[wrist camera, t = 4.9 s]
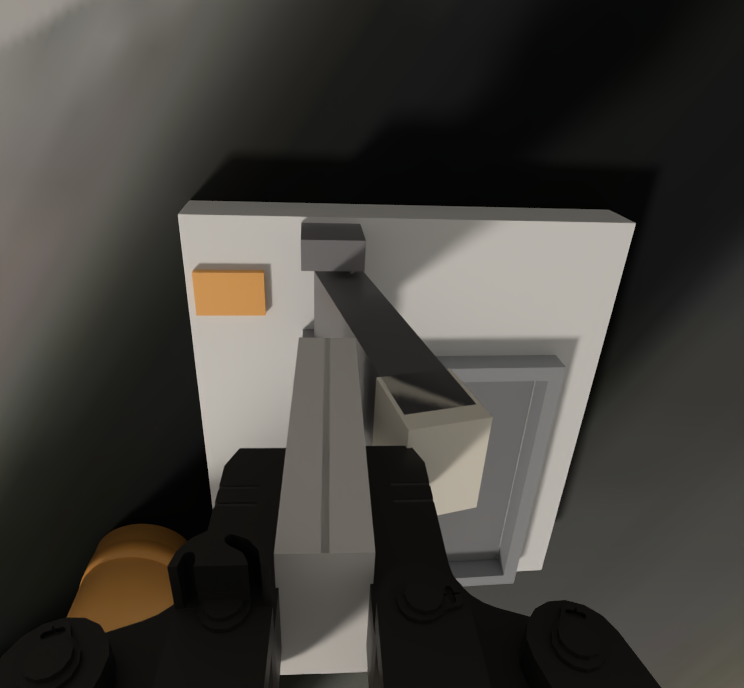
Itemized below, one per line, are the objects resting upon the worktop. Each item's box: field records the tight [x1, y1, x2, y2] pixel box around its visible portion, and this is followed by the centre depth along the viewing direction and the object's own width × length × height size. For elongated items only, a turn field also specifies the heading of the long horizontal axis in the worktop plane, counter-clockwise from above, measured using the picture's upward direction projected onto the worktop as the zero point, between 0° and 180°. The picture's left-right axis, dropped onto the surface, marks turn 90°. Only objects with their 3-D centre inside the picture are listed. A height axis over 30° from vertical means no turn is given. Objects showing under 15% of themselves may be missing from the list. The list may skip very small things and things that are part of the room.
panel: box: [178, 200, 636, 586], centre depth 23 cm, size 16×18×4 cm
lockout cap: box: [67, 524, 187, 633], centre depth 24 cm, size 5×5×8 cm
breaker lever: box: [314, 271, 493, 515], centre depth 15 cm, size 2×2×10 cm
